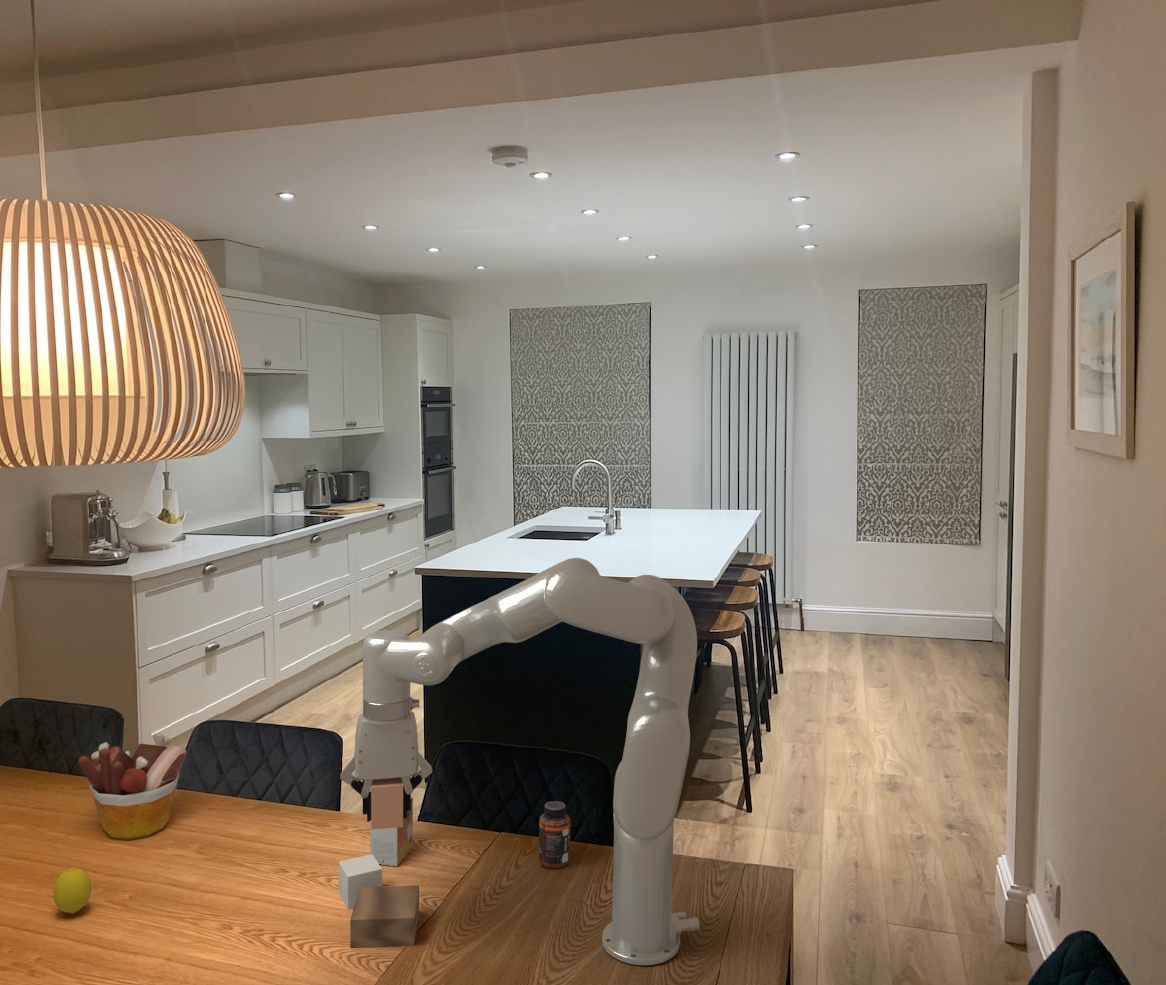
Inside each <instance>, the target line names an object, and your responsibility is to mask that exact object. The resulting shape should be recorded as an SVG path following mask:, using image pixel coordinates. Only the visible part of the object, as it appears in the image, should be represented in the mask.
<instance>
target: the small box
mask: <svg viewBox="0 0 1166 985" xmlns="http://www.w3.org/2000/svg"><path fill="white" fill-rule="evenodd" d="M413 802H414V797H413V796H411V811H407V818H403V827H397V828H386V829H375V830H371V820H370V821H369V829H370V830H369V836H370V838H369V839H370V841H369V843H370V844H369V852H370V853H369V855H370V854H373V856H374V857H375V859H376V860H377V862H378V863H379V864H381V865H380V866H387V865H388V867H398V866H399V865H400V864H401V862H402V861H403V860H404V859H405V858H406V856H407V855H408V854H409V853H410V852H411V851H412V850H413V839H414V837H413V832H414V831H413V830H414V829H413V827H414V826H413V823H414V822H413V817H414V816H413V815H414V813H413V812H414V810H413V805H414V803H413Z"/></svg>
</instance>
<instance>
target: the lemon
mask: <svg viewBox="0 0 1166 985" xmlns="http://www.w3.org/2000/svg"><path fill="white" fill-rule="evenodd" d="M91 893H92V883H91V879H90V877H89V875H88V873H87V872H86V871H85V870H83V869H81V868H76V867H69V869H67V870H65V871H63V872H62V873H61V874H60V875H59V876H58V878H57V879H56V881H55V883H54V887H53V902H54V904H55V906H56V907H57V908H58V910H60V911H61V912H64V913H69V914H70V915H74V914H76V913H77V912H78V911H80V910H81V909H83V908H84V907H85V906H86V904H87V903H88V902H89V901H90V898H91Z"/></svg>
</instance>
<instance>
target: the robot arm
mask: <svg viewBox="0 0 1166 985" xmlns="http://www.w3.org/2000/svg"><path fill="white" fill-rule="evenodd" d="M562 622H563V623H564V624H565V623H566V624H568V625H570V626H573V627H577V628H580V629H583V630H587V631H589V632H592V633H596V634H601V635H604V636H608V637H610V638H611V637H612V638H615V639H618V640H621V641H622V640H623V641H625V642H629V643H634V644H640V645H643V647H642V654H641V659H640V665H639V674H638V677H637V678H638V679H637V684H636V689H635V692H634V696H633V700H632V703H631V707H630V710H629V712H628V717H627V727H626V728H627V729H626V736H625V742H624V746H623V747H624V748H623V753H622V754H623V755H622V757H621V758H622V759H621V761H620V763H619V764H618V766H617V769H616V771H615V776H614V784H613V785H614V787H613V802H612V809H613V814H614V820H613V822H614V826H613V828H614V829H613V830H614V831H613V860H612V861H613V864H612V901H611V904H612V905H611V906H612V907H611V910H612V911H611V912H612V913H611V922H609V923H607V925H605V927H604V929H603V931H602V935H601V942H602V946H603V949H604V950H605V951H606V952H607V953H608V954H609V955H610V956H611V957H613V958H614V959H616V960H619V961H620V962H622V963H626V964H629V965H636V966H653V965H659V964H662V963H665V962H667V961H669V960H671V959H672V958H673V957H674V956H676V954H678V953H679V949H680V947H681V938H680V935H682V933H683V932H692V931H693V932H694V931H700V921H699V918H698V917H697V916H695V917H688V918H687V913H686V912H685V911H680V912H675V913H673V912H672V890H673V886H672V885H673V857H674V856H673V854H674V825H675V824H674V822H675V817H676V815H677V812H678V807H679V803H680V798H681V794H682V793H681V792H682V789H683V784H684V779H685V773H686V768H687V764H688V760H689V753H690V745H691V731H690V723H689V722H690V721H689V715H688V714H689V703H690V699H691V698H690V697H691V692H692V688H693V682H694V674H695V668H696V663H697V651H698V636H697V629H696V624H695V620H694V617H693V614H692V611H691V609H690V607H689V605H688V603H687V602H686V600H685V598H684V597H683V595H681V593H680V592H679V591H678V590H677V589H676V588H675V587H674V586H673V585H672V584H670V583H669V582H667V581H666V580H665V579H663V578H661V577H658V576H656V575H651V574H642V575H638V576H636V577H634V578H631V580H629V581H628V582H626V581H625V582H624V581H622V580H621V581H620V580H617V579H613V578H611V577H606V576H603V575H600V572H599V570H598V569H597V567H596V566H595V565H594V564H593V563H592V562H590V561H589V560H587V559H584V558H581V557H572V558H567V559H565V560H562V561H560V562H558V563H556V564H554V565H552V566H551V567H548V568H545V570H542V571H541V572H538V573H536V574H535V575H533V576H531V577H528V578H526V579H524V580H523V581H520V582H519V583H518V584H514V585H513V586H511V587H510V588H507V589H505V590H502V591H501V592H499V593H497V594H495V595H492V596H490V597H488V598H487V599H485V600H484V601H481V602H478V603H477V604H474V605H472V606H469V607H468V608H466V609H464V610H462V611H460V612H457V613H455V614H453V615H452V616H450V617H448V618H446V619H444V620H442V621H440V622H438V623H436V624H434V625H433V626H431V627H430V628H429V629H427V630H426V631H424V632H423V633H422V634H421V635H420V636H418V637H415V638H413V639H410V637H409V635H408V634H407V633H405V632H404V631H399V630H391V629H390V630H389V629H385V630H378V631H373V632H371V633H368V634H367V635H366V636H365V638H364V640H363V642H362V643H363V644H362V713H361V714H359V715H358V718H357V722H356V727H355V735H354V736H355V738H354V756H353V758H351V760H350V761H349V763H347V764H346V766H345V767H344V768H343V769H342V771H341V772H340V774H339V775H340V776H339V778H340V780H341V781H342V782H344V783H345V784H347V785H349V786H351V788H352V789H353V790H354V791H355V792H357V793H358V794H359V795H360V797H361V798H362V815H366V821H367V822H368V823H370V820H371V784H372V781H373V780H379V779H392V778H401V779H402V782H403V818H407V811H411V797H412V793H413V792H414V790H415V789H416V788H417V787H418V786H419V785H420V784H421V783H422V781H423V780H425V779H426V778H427V777H429V776H430V775H431V774H432V773H433V768H432V765H431V764H430V763H429V762H428V760H426V759H425V758H424V756H423V755H422V754H421V753H420V752H419V736H418V728H417V726H418V725H417V719H416V716H415V715H416V714H415V712H414V711H413V710H414V709H416V708H417V709H418V708H420V699H418V698H413V697H412V696H411V683H413V684H417V685H421V686H435V685H438V684H440V683H441V682H443V681H445V680H446V679H447V678H448V677H449V675H450V674H451V673H452V671H453V670H454V668H455V667H456V666H457V665H458V664H459V663H460V662H462V661H464V660H467V659H468V658H470V657H472V656H474V655H475V654H477V653H480V652H482V651H484V650H486V649H488V648H490V647H493V646H495V645H499V644H502V643H511V644H517V643H518V644H519V643H522V642H524V641H527V640H528V639H531V638H532V637H534V636H536V635H538V634H540V633H542V632H544V631H545V630H548V629H551V628H552V627H554V626H556V625H557V624H560V623H562ZM419 768H420V770H419ZM353 773H355V776H354V775H353Z"/></svg>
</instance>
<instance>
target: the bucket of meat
mask: <svg viewBox="0 0 1166 985" xmlns="http://www.w3.org/2000/svg"><path fill="white" fill-rule="evenodd" d="M152 739H153V742H154V744H148V743H139V745H138V746H137V749H135V752H134V753H133V756H132V757H131V752H130V751H129V750H127V751H124V750H123V749H122V747H121V746H119V745H116V746H115V745H113V746H110V744H109V743H108V742H106V741H105V742H103V743H101V744H99V746H98V749H97V750H96V751H95V752H93V753H92V754H91V755H90V757H89V756H85V755H82V756H80V757H79V758H78V761H77V765H78V766H79V768H80V769H81V771H82V772H83V774H84V775H85V777H86V778H87V780H88V781H89V783H90V784H89V789H90V791H91V794H92V797H93V800H94V804H95V808H96V811H97V814H98V818H99V821H100V825H101V828H102V829H103V830H104V832H106V834H107V835H109V837H110V838H112V839H114V840H124V841H131V840H137V839H143V838H147V837H150V836H152V835H154V834H157V833H158V832H160V831H162V830H163V828H164V827H165V826H166V825H167V823H168V822H169V819H170V818H171V814H172V809H173V805H174V801H175V795H176V790H177V786H178V781H179V778H180V773H181V772H180V771H181V768H182V766H183V763H184V761H185V758H186V756H187V749H186V748H184V747H183V748H182V746H181V747H180V746H178V745H175V744H170V743H171V738H170V737H167V736H164V735H163V733H162V732H161V733H160V732H157V733H154V734H153V735H152ZM169 744H170V745H169ZM167 745H169V746H167Z"/></svg>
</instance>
